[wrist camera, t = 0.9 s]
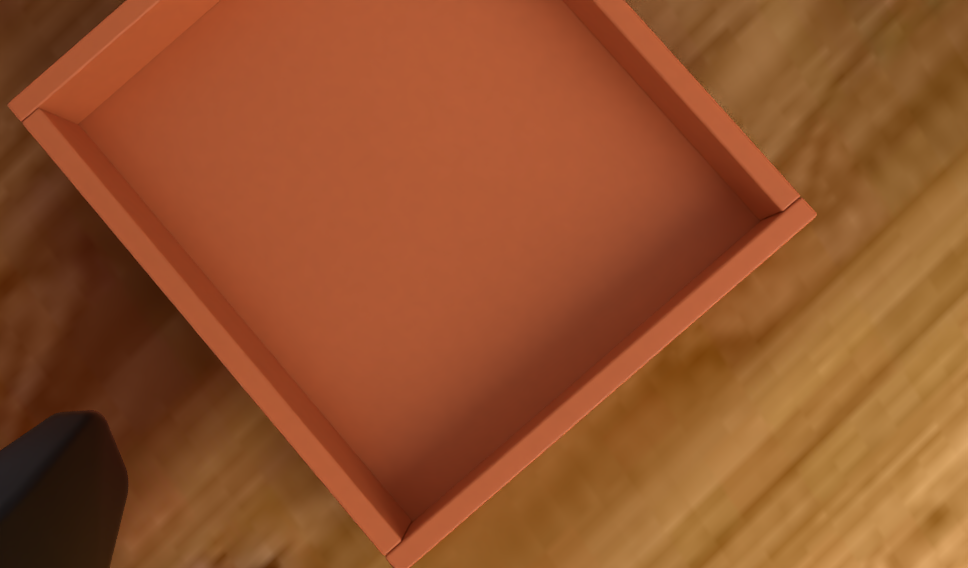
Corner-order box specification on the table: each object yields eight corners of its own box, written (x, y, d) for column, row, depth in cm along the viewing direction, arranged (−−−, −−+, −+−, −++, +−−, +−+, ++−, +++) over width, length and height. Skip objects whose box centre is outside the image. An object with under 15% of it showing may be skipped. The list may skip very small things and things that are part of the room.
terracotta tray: (785, 226, 23) (818, 214, 20) (413, 547, 23) (399, 576, 20) (417, -184, 24) (404, -245, 21) (60, 127, 24) (5, 104, 21)
